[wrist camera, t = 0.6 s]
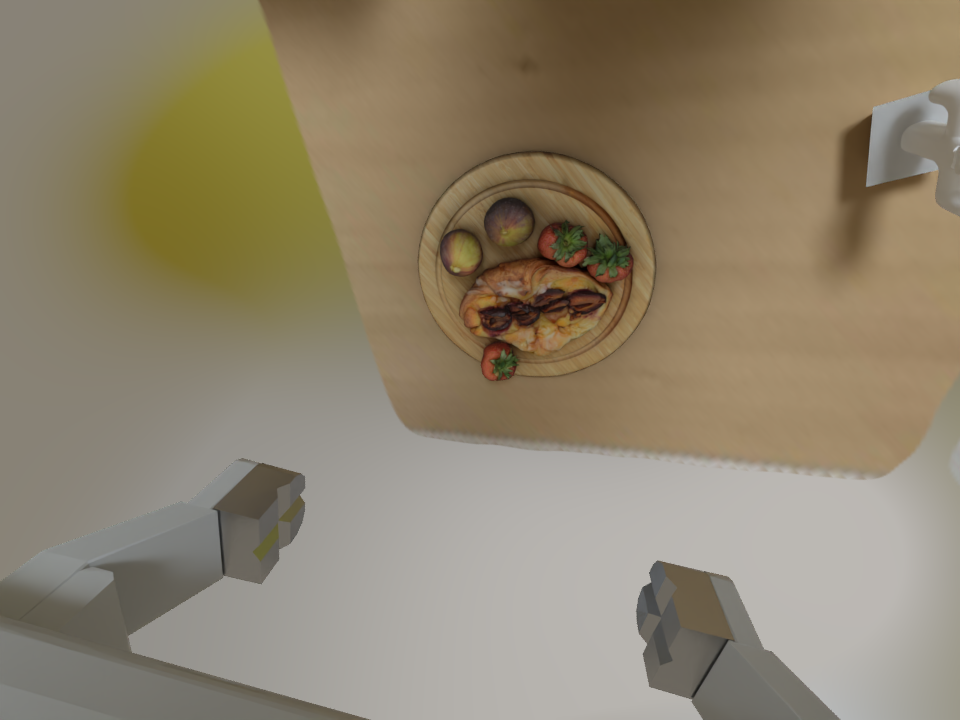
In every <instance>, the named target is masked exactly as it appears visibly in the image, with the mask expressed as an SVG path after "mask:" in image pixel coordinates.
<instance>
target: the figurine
mask: <svg viewBox="0 0 960 720" xmlns="http://www.w3.org/2000/svg"><path fill="white" fill-rule="evenodd" d="M935 170H939V174H938V180H937V186H936V192H935V199H936V202H937V204H938V205H939V206H940V207H942V208H944V209H945V210H947V211H949V212H951V213H953V214H956V215H958V216H960V79H953V80H949V81H945V82H943V83H941V84H939V85H937V86H935V87H934V88H933V89H932V90H930V91H927V92H923V93H920V94H917V95H913V96H910V97H906V98H903V99H899V100H896V101H893V102H889V103H886V104H882V105H879V106H876V107H873V112H872V123H871V134H870V145H869V156H868V168H867V180H866V187H869V186H873V185H877V184H881V183H885V182H889V181H894V180H898V179H902V178H906V177H910V176H914V175H919V174H923V173H927V172H931V171H935Z"/></svg>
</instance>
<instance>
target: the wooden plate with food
mask: <svg viewBox="0 0 960 720" xmlns="http://www.w3.org/2000/svg"><path fill="white" fill-rule="evenodd" d="M418 271H419V278H420V284H421V288H422V291H423V295H424V298H425V301H426V303H427V306H428V308H429V310H430V312H431V314H432V316H433V317H434V319H435V321H436V322H437V324H438V325H439V327H440V328H441V329H442V331H443V332H444V333H445V334H446V335H447V336H448V338H449V339H450V340H451V341H452V342H453V343H454V344H456V345H457V346H458V347H459V348H461V349H462V350H463V351H464V352H466V353H467V354H468V355H470V356H472V357H473V358H475V359H477V360H478V361H480V362H481V368H482V373H483V375H484V376H485V377H486V378H487V379H489V380H492V381H494V380H496V381H498V380H505V379H509V378H511V377H512V376H513V375H514V374H517V375H524V376H556V375H563V374H568V373H571V372H575V371H578V370H581V369H584V368H587V367H589V366H591V365H593V364H596V363H597V362H599V361H601V360H603V359H605V358H606V357H608V356H609V355H610V354H612V353H613V352H615V351H616V350H617V349H618V348H619V347H620V346H622V345H623V344H624V343H625V341H626V340H627V339H628V338H629V337H630V336H631V335H632V333H633V332H634V331H635V330H636V328H637V327H638V325H639V324H640V322H641V320H642V319H643V317H644V316H645V314H646V311H647V309H648V306H649V304H650V301H651V297H652V293H653V289H654V284H655V275H656V257H655V250H654V245H653V241H652V238H651V234H650V231H649V229H648V226H647V224H646V222H645V219H644V217H643V215H642V213H641V211H640V210H639V208H638V206H637V205H636V204H635V202H634V201H633V200H632V199H631V198H630V196H629V195H628V194H627V193H626V192H625V191H624V190H623V189H622V188H621V187H620V186H619V185H618V184H617V183H616V182H615V181H613V180H612V179H611V178H610V177H608V176H607V175H606V174H604V173H603V172H602V171H600V170H598V169H596V168H595V167H593V166H591V165H589V164H587V163H585V162H582V161H580V160H578V159H575V158H572V157H569V156H565V155H561V154H556V153H550V152H519V153H513V154H507V155H502V156H499V157H496V158H493V159H490V160H488V161H486V162H484V163H481V164H479V165H477V166H475V167H474V168H472V169H471V170H469V171H467V172H466V173H464V174H463V175H462V176H461V177H459V178H458V179H457V180H455V181H454V182H453V183H452V184H451V185H450V186H449V187H448V188H447V190H446V191H445V192H444V193H443V194H442V196H441V197H440V198H439V199H438V201H437V202H436V204H435V205H434V207H433V208H432V210H431V212H430V214H429V216H428V219H427V221H426V223H425V226H424V229H423V232H422V236H421V240H420V245H419V254H418Z"/></svg>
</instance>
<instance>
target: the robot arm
mask: <svg viewBox="0 0 960 720" xmlns="http://www.w3.org/2000/svg"><path fill="white" fill-rule="evenodd" d="M304 489H305V476H303V475H302V474H301V473H297V472H293V471H289V470H286V469H282V468H278V467H275V466H271V465H267V464H264V463H262V464H261V463H258V462H254V461H251V460H247V459H244V458H242V459H238V460H236V461H234V462H233V463H232V464H231V465H230V466H229V467H228V468H226V469H225V470H224V471H223V472H222V473H221V474H220V475H218V476H217V477H216V478H215V479H214V480H213V481H212V482H211V483H210V484H208V485H207V486H206V487H205V488H204V489H203V490H202V491H201V492H199V493H198V494H197V495H196V496H195V497H194V498H193V499H192V500H190V501H189V502H188V503H184V502H178V503H176V504H173V505H170V506H167V507H164V508H162V509H159V510H156V511H153V512H150V513H147V514H145V515H142V516H139V517H136V518H133V519H131V520H128V521H125V522H122V523H119V524H116V525H114V526H111V527H108V528H105V529H102V530H99V531H97V532H94V533H91V534H88V535H86V536H83V537H80V538H77V539H74V540H71V541H68V542H66V543H63V544H60V545H57V546H54V547H51V548H49V549H46V550H43V551H41V552H40V553H39V554H37V555H36V556H35V557H33V558H32V559H30V560H29V561H28V562H26V563H25V564H24V565H22V566H21V567H19V568H18V569H17V570H15V571H14V572H13V573H11V574H10V575H9V576H7V577H6V578H5V579H3V580H2V581H0V720H369V719H366V718H362V717H359V716H355V715H352V714H348V713H344V712H341V711H337V710H334V709H330V708H327V707H323V706H319V705H316V704H312V703H309V702H305V701H302V700H298V699H295V698H291V697H288V696H284V695H280V694H277V693H273V692H270V691H266V690H263V689H259V688H255V687H252V686H248V685H245V684H241V683H238V682H234V681H231V680H227V679H224V678H220V677H216V676H213V675H209V674H206V673H202V672H199V671H195V670H192V669H188V668H185V667H181V666H177V665H174V664H170V663H166V662H163V661H159V660H156V659H153V658H149V657H146V656H142V655H138V654H135V653H132V651H131V647H130V643H129V638H128V636H129V635H130V634H132V633H133V632H135V631H137V630H138V629H140V628H142V627H143V626H145V625H146V624H148V623H150V622H152V621H153V620H155V619H156V618H158V617H160V616H161V615H163V614H165V613H166V612H168V611H170V610H171V609H173V608H174V607H176V606H178V605H179V604H181V603H182V602H184V601H186V600H188V599H189V598H191V597H192V596H194V595H196V594H197V593H199V592H201V591H202V590H204V589H206V588H207V587H209V586H210V585H212V584H214V583H215V582H217V581H219V580H220V579H222V578H223V575H224V576H228V577H232V578H236V579H241V580H245V581H250V582H254V583H258V584H262V582H263V581H264V580H265V578H266V577H267V576H268V574H269V573H270V571H271V570H272V569H273V567H274V566H275V564H276V563H277V562H278V560H279V549H281V548H283V547H285V546H287V545H289V544H290V543H291V542H292V540H293V539H294V537H295V536H296V535H297V533H298V531H299V528H300V526H301V524H302V521H303V517H304V512H305V502H304V501H303V499H302V498H301V496H300V494H301V493H302V491H303V490H304ZM649 574H650V578H651V583H650V584H648V585H646V586H644V587H643V588H642V590H641V593H640V595H639V598H638V604H637V611H636V612H637V625H638V630H639V634H640V635H641V637H642V638H643V639H644V640H645V642H646V643H647V646H646V649H645V651H644V653H643V657H644V662H645V667H646V672H647V677H648V682H649V686H650V687H652V688H656V689H659V690H662V691H666V692H669V693H672V694H676V695H679V696H682V697H686V698H689V699H693V700H692V703H693V705H694V706H695V708H696V709H697V711H698V712H699V714H700V715H701V717H702V718H703V720H840V719H839V718H838V717H837V716H836V715H835V714H834V713H833V712H832V711H831V710H830V709H829V708H828V707H827V706H826V705H825V704H824V703H823V702H822V701H821V700H820V699H819V698H818V697H817V696H816V695H815V694H814V693H813V692H812V691H811V690H810V689H809V688H808V687H807V686H806V685H805V684H804V683H803V682H802V681H801V680H800V679H799V678H798V677H797V676H796V675H795V674H794V673H793V672H792V671H791V670H790V669H789V668H788V667H787V666H786V665H785V664H784V663H783V662H782V661H781V660H780V659H779V658H778V657H777V656H775V654H774V653H773V652H772V651H768V650H764V648H763V646H762V644H761V642H760V640H759V637H758V635H757V633H756V631H755V629H754V626H753V624H752V622H751V620H750V618H749V615H748V613H747V611H746V609H745V607H744V605H743V602H742V600H741V598H740V596H739V594H738V592H737V589H736V587H735V585H734V583H733V581H732V580H731V579H730V578H729V577H727V576H723V575H719V574H714V573H709V572H705V571H704V572H703V571H700V570H696V569H692V568H687V567H683V566H679V565H674V564H670V563H666V562H662V561H656V563H654V564H653V566H652V568H651V570H650V572H649Z"/></svg>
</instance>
